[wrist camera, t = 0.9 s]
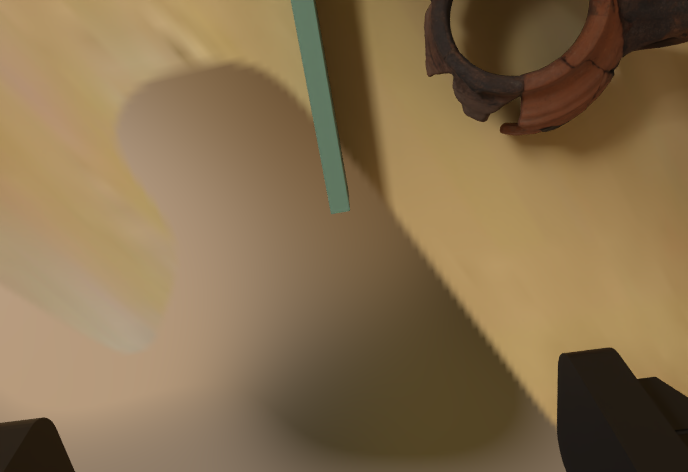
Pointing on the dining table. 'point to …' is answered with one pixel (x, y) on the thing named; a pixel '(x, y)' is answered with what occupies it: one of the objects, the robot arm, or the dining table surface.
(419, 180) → the dining table surface
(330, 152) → the teal bars
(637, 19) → the pottery mug
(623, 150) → the dining table surface
